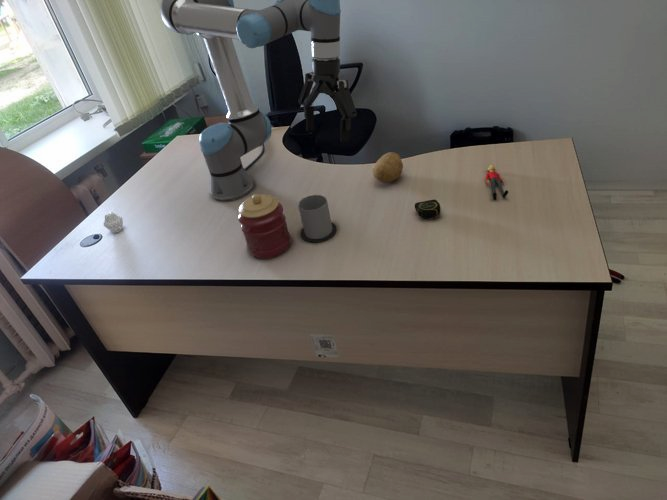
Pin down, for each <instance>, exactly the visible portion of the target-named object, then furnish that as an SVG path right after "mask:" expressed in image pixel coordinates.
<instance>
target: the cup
mask: <svg viewBox="0 0 667 500" xmlns="http://www.w3.org/2000/svg"><path fill="white" fill-rule="evenodd" d="M297 207H298V211H299V216H300V219H301V223H302V229H303V228H304V233H305V235H306V237H308V238H310V239H320V238H324V237H326V236H328V235H329V234H330V233H331V232H332V223H333V222H332V220H331V213H330V208H329V203H328V199H327V198H326V196H324V195H321V194H312V195H307V196H306V197H302V199H301V200H300V201H299V202H298V204H297ZM331 222H332V223H331Z"/></svg>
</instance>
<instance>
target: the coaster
mask: <svg viewBox="0 0 667 500" xmlns="http://www.w3.org/2000/svg"><path fill="white" fill-rule="evenodd" d="M331 223H332V232H331V233H330V234H329V235H328V236H326V237H324V238H320V239H310V238H308V237H306V235H305V233H304V228H303V227H302V228H301V230H300V238H301V239H302V240H303V241H304V242H307V243H310V244H319V243H323V242H327V241H329V240H330V239H332V238H333V237H334V236H335V235H336V233H337V231H338V228H337V225H336V224H335V223H334V222H332V221H331Z"/></svg>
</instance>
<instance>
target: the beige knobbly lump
mask: <svg viewBox="0 0 667 500" xmlns="http://www.w3.org/2000/svg"><path fill="white" fill-rule="evenodd" d="M123 225H124V221H123V217H122V216H120V215H118V214H116V213H115V212H114V211H110V212H108V213H106V214H105V215H104V221H103V227H105V228H106V229H107V230H108V231H110V232H112V233H114V234H115V233H116V234H117V233H119V232H121V231H122V230H123Z"/></svg>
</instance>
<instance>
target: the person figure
mask: <svg viewBox="0 0 667 500" xmlns="http://www.w3.org/2000/svg"><path fill="white" fill-rule="evenodd" d="M486 170H487V173H486V174H485V182H486V184H491V192H492V199H493V200H494V201H496V200H497V191H496V185H497V186H498V189H499V192H500V194H501V196H502V198H506V197H507V195H509V190H508V189H506V190H505V191H504V187H503V185H504V183H505V181H504V180H503V179H502V178H501V176H500V173H498V172H497V171H496V167H495V165H494V164H489V165H488V167H487V169H486ZM489 179H490V180H489Z"/></svg>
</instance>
